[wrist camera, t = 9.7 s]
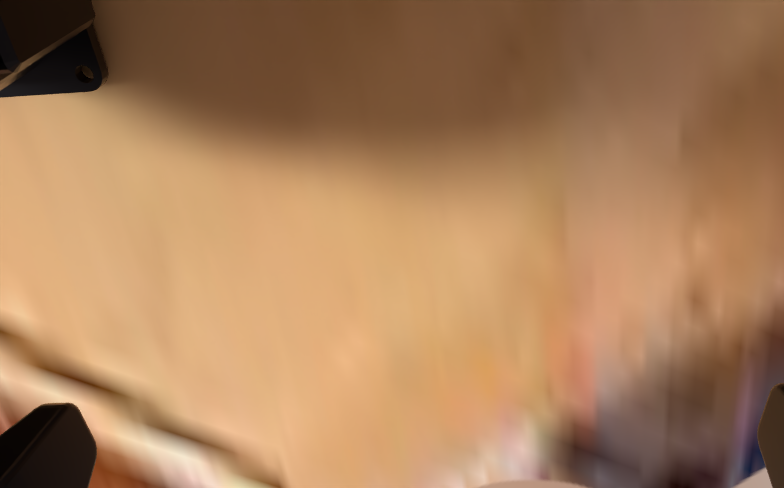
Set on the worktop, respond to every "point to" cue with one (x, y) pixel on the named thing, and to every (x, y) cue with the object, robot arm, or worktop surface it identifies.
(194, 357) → the worktop surface
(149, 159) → the worktop surface
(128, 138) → the worktop surface
